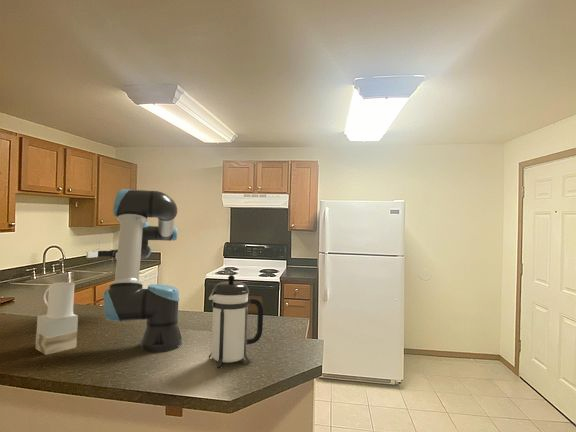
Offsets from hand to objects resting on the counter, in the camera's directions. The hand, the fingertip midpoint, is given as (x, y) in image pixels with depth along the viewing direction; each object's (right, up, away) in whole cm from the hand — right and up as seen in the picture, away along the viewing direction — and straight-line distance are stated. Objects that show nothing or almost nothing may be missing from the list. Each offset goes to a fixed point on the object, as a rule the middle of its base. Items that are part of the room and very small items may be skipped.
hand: (101, 255), depth 146 cm
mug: (-6, -21, -19) cm, 29 cm away
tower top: (-6, -27, -20) cm, 34 cm away
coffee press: (+62, -34, -28) cm, 76 cm away
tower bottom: (-6, -33, -20) cm, 39 cm away
